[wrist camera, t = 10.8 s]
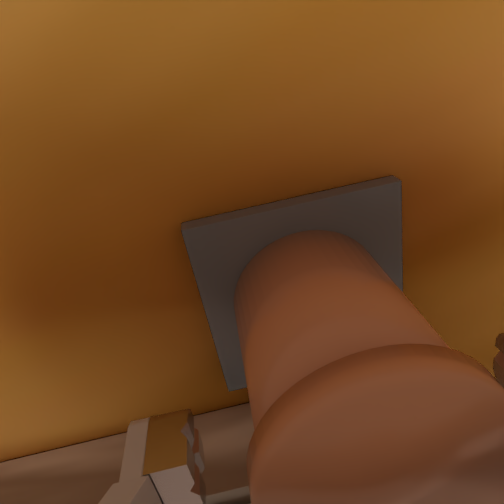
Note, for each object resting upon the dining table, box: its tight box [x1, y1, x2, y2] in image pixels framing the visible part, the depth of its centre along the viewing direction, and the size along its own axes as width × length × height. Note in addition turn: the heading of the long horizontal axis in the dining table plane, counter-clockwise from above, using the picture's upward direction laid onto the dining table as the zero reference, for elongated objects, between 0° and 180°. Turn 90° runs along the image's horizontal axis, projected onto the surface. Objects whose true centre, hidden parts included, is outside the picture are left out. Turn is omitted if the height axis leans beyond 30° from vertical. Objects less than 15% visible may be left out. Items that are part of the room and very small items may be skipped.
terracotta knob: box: [234, 230, 504, 504], centre depth 11 cm, size 6×6×7 cm
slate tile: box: [181, 175, 403, 391], centre depth 15 cm, size 7×7×1 cm
